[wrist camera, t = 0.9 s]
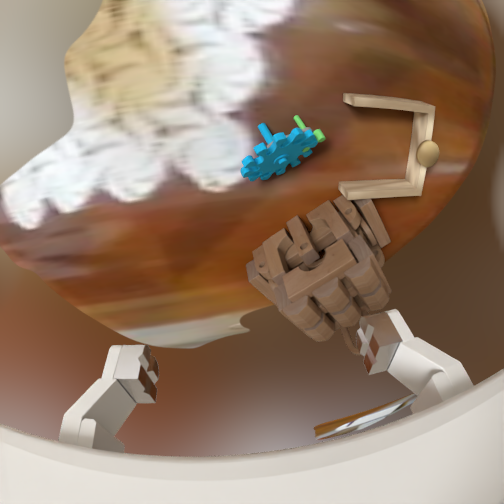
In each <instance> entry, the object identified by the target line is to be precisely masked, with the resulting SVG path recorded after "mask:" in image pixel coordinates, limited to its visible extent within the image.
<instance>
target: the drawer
mask: <svg viewBox="0 0 504 504" xmlns="http://www.w3.org/2000/svg"><path fill="white" fill-rule="evenodd" d="M343 102H346V103H348V104H350V105H353V106H359V107H375V108H387V109H397V110H406V111H414V119H413V128H412V136H411V144H410V151H409V158H408V164H407V171H406V176H405V179H389V180H363V181H344V182H339V188H338V189H339V190H340V192H341V193H342V194H343V195H344V197H345V198H346V199H347V200H357V199H370V198H386V197H402V196H421V193H422V188H423V184H424V179H425V174H426V168H427V167H431V166H433V165H434V164H435V163H436V162H437V160H438V157H439V148H438V146H437V144H436V143H434V142H432V141H431V139H432V131H433V124H434V115H435V106H432V105H430V104H427V103H424V102H422V101H417V100H410V99H403V98H395V97H387V96H377V95H366V94H352V93H343Z"/></svg>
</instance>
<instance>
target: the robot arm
mask: <svg viewBox="0 0 504 504" xmlns="http://www.w3.org/2000/svg"><path fill="white" fill-rule="evenodd" d="M359 325H360V327H361V328H360V329H359V330H358V331H357V334H356V344H357V348H358V351H359V353H360V354H362V355H363V356H365V358H364V361H363V363H364V365H365V367H366V370H367V372H368V375H370V374H374V373H378V372H382V371H386V370H388V372H389V373H390V374H391V375H393V376H394V377H395V378H396V379H398V380H399V381H400V382H401V383H402V384H404V385H405V386H406V387H407V388H409V389H410V390H411V391H412V392H414V393H415V394H416V395H417V396H418V397H417V398H416V400H415V401H414V402H413V404H412V405H411V410H412V413H413V415H410V416H408V417H405V418H403V419H400V420H397V421H394V422H391V423H389V424H386V425H383V426H380V427H377V428H373V429H370V430H367V431H364V432H360V433H357V434H353V435H349V436H346V437H342V438H338V439H334V440H330V441H325V442H321V443H316V444H312V445H307V446H301V447H295V448H290V449H283V450H276V451H269V452H261V453H252V454H242V455H228V456H207V457H175V456H151V455H138V454H128V453H124V444H123V443H122V442H121V441H119V440H118V439H117V438H115V437H114V436H115V434H116V433H117V431H118V430H119V429H120V427H121V426H122V424H123V423H124V421H125V420H126V419H127V417H128V416H129V414H130V413H131V411H132V410H133V409H134V407H135V406H136V403H155V402H156V395H157V388H156V386H155V385H154V384H155V383H156V381H157V380H158V378H159V369H158V363H157V361H156V359H155V357H153V356H152V355H150V354H151V349H150V348H149V346H148V345H113V346H111V348H110V349H109V353H108V356H107V360H106V364H105V367H104V371H103V375H102V379H98V380H97V381H96V382H95V383H94V384H93V385H92V386H91V387H90V388H89V389H88V390H87V391H86V392H85V393H84V394H83V395H82V396H81V397H80V398H79V399H78V400H77V402H76V403H75V404H74V405H73V406H72V407H71V408H70V409H69V410H68V411H67V412H66V413H65V414H64V418H63V422H62V426H61V430H60V435H59V439H58V441H55V440H51V439H47V438H43V437H40V436H36V435H33V434H29V433H26V432H23V431H20V430H17V429H14V428H12V427H9V426H6V425H2V424H0V504H504V369H502V370H501V371H499V372H497V373H496V374H494V375H492V376H491V377H489V378H487V379H486V380H484V381H482V382H480V383H479V384H477V385H475V386H473V384H472V382H471V380H470V378H469V376H468V375H467V373H466V371H465V369H464V368H463V366H462V364H461V363H460V362H459V361H457V360H456V359H454V358H452V357H450V356H449V355H447V354H445V353H444V352H442V351H440V350H439V349H437V348H435V347H434V346H432V345H430V344H428V343H427V342H425V341H423V340H421V339H420V338H418V337H416V338H414V336H413V335H412V333H411V331H410V329H409V328H408V326H407V324H406V323H405V321H404V320H403V318H402V316H401V315H400V313H399V311H398V310H396V309H394V310H390V311H385V312H380V313H376V314H371V315H367V316H363V317H361V319H360V322H359Z"/></svg>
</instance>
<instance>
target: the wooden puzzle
mask: <svg viewBox="0 0 504 504" xmlns="http://www.w3.org/2000/svg"><path fill="white" fill-rule="evenodd" d="M352 201H353V202H354V204H355V206H356V207H357V209H358V210H359V212H360V213H361V215H362V216H363V218H364V220H365V221H366V222H365V221H364V220H363V218H362V217H361V216H360V214H359V213H358V211H357V209H356V208H355V206H354V205H353V203H352V202H351V201H350V200H347V199H346V198H345V197H344V195H341V196H340V197H338V198H337V199H335V200H334V201H333V202H334V203H335V205H336V206H337V208H338V209H339V212H337V211H336V209H335V208H334V206H333V205H332V204H331V202H330V201H329V200H328V201H326V202H325V203H323V204H322V205H320V206H319V207H317V208H316V209H314V210H313V211H311V212H310V213H308V214H307V215H306V216H307V218H308V220H309V221H310V223H311V224H312V226H313V228H312V231H311V232H310V234H309V233H308V231H307V229H306V227H305V224H304V223H303V222H302V220H301V219H300V218H299V216H298V215H297V216H295V217H294V218H292V219H291V220H289V221H288V222H286V223H287V226H288V228H289V231H290V233H291V235H290V234H289V233H288V232H287V231H286V230H285V228H283V229H282V230H280V231H279V232H277V233H276V234H274V235H273V236H271V237H270V238H268V239H267V240H266V241H264V242H263V245H262V246H260V247H259V248H257V249H256V250H254V251H253V256H254V260H252V261H251V262H249V263H248V264H246V267H247V274H248V280H249V282H250V283H251V284H252V285H253V286H254V287H255V288H257V289H258V290H259V291H260V292H261V293H262V294H263V295H265V296H266V297H267V298H268V299H269V300H270V301H272V302H273V303H274V304H275V305H276V306H277V307H278V310H279V312H280V313H282V314H283V315H284V316H285V317H286V318H287V319H289V320H290V321H291V322H292V323H294V324H295V325H296V326H297V327H298V328H299V329H300V330H302V331H303V332H304V333H305V334H307V335H308V336H309V337H310V338H311V339H314V340H316V341H317V342H318V341H327V340H328V339H329V338H330V337H331V336H332V335H333V334H334V332H335V331H336V330H338V329H340V330H341V332H342V335H343V337H344V339H345V342H346V345H347V347H348V349H349V350H350V351H351V352H352V353H353V354H355V355H362V354H360V353H359V351H358V348H356V347H355V346H354V343H353V341H352V339H351V336H350V334H349V331H348V329H347V327H349V326H354V325H355V324H356V323H357V322H358V321H359V320H360V318H361V316H362V317H363V316H367V315H369V314H368V312H369V311H375V310H380V309H383V308H384V306H385V305H386V304H387V302H388V301H389V294H390V293H391V292H392V290H391V288H390V286H389V284H388V282H387V280H386V278H385V276H384V274H383V272H382V270H381V268H382V266H383V265H384V261H385V259H384V255H383V253H382V251H381V249H380V248H382V247H384V246H385V245H387V244H388V243H390V242H391V240H390V238H389V236H388V234H387V231H386V229H385V227H384V225H383V223H382V220H381V218H380V216H379V214H378V212H377V210H376V208H375V206H374V204H373V202H372V200H371V199H357V200H352ZM364 235H365V236H364ZM291 236H292V237H291ZM365 237H366V238H365ZM292 238H293V240H292ZM378 245H379V246H378ZM322 249H324V250H325V255H324V256H323V257H322V258H321V259H320V260H318V261H316V260H317V259H319V258H320V256H319V254H318V252H319V251H321V250H322ZM315 261H316V262H315ZM294 267H295V268H294Z"/></svg>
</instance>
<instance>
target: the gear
mask: <svg viewBox="0 0 504 504" xmlns="http://www.w3.org/2000/svg"><path fill="white" fill-rule="evenodd" d="M294 120H295V121H296V123H297V124H298V126H299V128H295V129H293V130H292V131H291V133H290V134H289V135H287V136H285V134H284V133H283V132H281V133H277V134H274V135H273V136H272V134H271V133H270V131H269V129H268V128H267V126H266V124H265V123H262V124H260V125H259V126H258V128H259V130H260V132H261V133H262V135H263V137H264V138H265V140H266V142H267V144H268V145H267V147H266V145H265V143H260V144H259V145H257V146H255V147H254V151H255V152H256V154H257V156H259V157H257V158H255V159H253V157H252V156H251V155H249V156H247V157H245V158H244V159H243V161H242V164H243V165H244V167H242V168H241V174H242V176H243V178H245V177H248V178H249V180H250V181H254V180H256V179H257V178H258V177H260V178H261V180H267V179H268V178H270V176H271V175H272V174H273V173H274V172H275V173H276V175H280V174H283V173H284V172H285V168H286V166H287V165H288V164H289V163H290V164H291V166H292V167H295V166H297V165H298V164H300V163H301V162H300V160H299V159H298V156H300V155H303V156H304V157H307V156H309V155H310V154H311V153H312V150H311V149H310V148H313V147H315V146H316V145H317V143H318V142H322V141H324V140H325V139H326V138H325V136H324V135H323V133H322V132H321V130H320V129H317V130H315V131H314V132H313V131H312V129H311V128H310V127H307V128H306V126H305V125H304V123H303V122H302V120H301V119H300V117H299V116H298V115H296V116H294Z"/></svg>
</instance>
